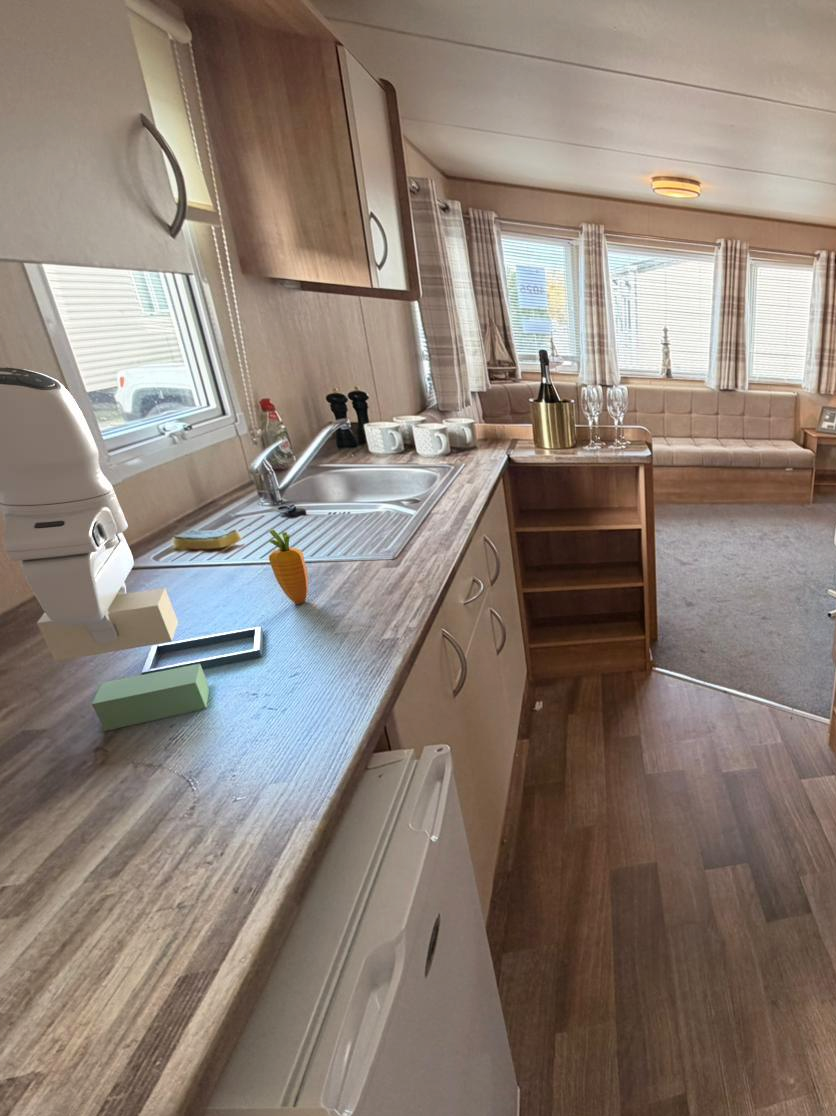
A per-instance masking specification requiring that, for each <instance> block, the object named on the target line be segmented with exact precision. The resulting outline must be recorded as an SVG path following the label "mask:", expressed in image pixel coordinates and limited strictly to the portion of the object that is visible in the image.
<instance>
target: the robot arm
mask: <svg viewBox="0 0 836 1116" xmlns="http://www.w3.org/2000/svg"><path fill="white" fill-rule="evenodd" d="M79 407H80V406H79V405H78V404H77V402H76V400H75V399H74V398H73V395H71V393H70V392H69V391H68V389H66V388H65V386H64V385H63V384H62V383H60V382H59V381H58V380H57V379H55V378H53V377H51V376H49V375H46V374H44V373H40V372H36V371H33V370H28V369H23V368H15V367H8V366H7V367H6V366H5V367H2V366H0V512H1V514H2V515H3V516H2V520H3V522H4V525H5V528H4V529H5V530H4V535H3V539H2V544H1V545H2V548H3V551H4V553H5V555H6V556H7V558H8V559H9V560H10V561H11V562H16V561H18V562H19V561H21V563H20V566H21V567H20V568H21V570H22V573H23V576H24V578H25V580H26V582H27V584H28V586H29V588H30V589H31V591H32V593H33V595H34V597H35V599H36V600H37V601H38V603H39V605H40V606H41V608H42V610H43V612H44V613H46V615H47V616H48V617H49V618H50V619H51V620H52V621H53V622H54V623H55V624H57V625H58V626H72V625H79V624H83V625H84V626H85V627H86V628H87V629H88V630H89V631H91V633H92V635H93V637H94V639H95V642H97V643H99V644H103V643H110V642H114V641H116V640H117V638H118V636H119V632H118V630H117V627H116V625H115V623H114V624H112V622H111V620H110V618H109V616H108V614H109V612H108V608H109V607H110V605H111V603H112V602H113V600H114V598H115V596H116V595H118V594H125V593H127V587H126V583H125V581H126V579H127V577H128V576H129V574H130V572H131V571H132V569H133V567H134V565H135V562H134V557H133V554H132V551H131V549H130V546H129V545H128V542H127V540H126V538H125V536H124V532H125V531H126V530H127V529H128V528H129V525H128V522H127V520H126V518H125V515H124V512H123V509H122V507H121V504H120V503H119V499H118V497H117V494H116V492H115V489H114V487H113V485H112V484H111V482H110V481H109V480H108V478H107V477H106V476H105V475H104V473H103V472H102V469H101V467H100V460H99V459H100V453H99V449H98V446H97V443H96V441H95V439H94V436H93V434H92V431H91V429H90V427H89V425H88V423H87V420H86V418H85V417H84V415H83V412H82V410H81V409H80V408H79Z"/></svg>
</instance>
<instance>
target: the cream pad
mask: <svg viewBox="0 0 836 1116" xmlns="http://www.w3.org/2000/svg"><path fill="white" fill-rule="evenodd" d="M108 612H109V614H108V616H109V618H110V620H111V622H112V624H114V623H115V625H116V627H117V630H118V632H119V636H118V638H117V640H116V641H114V642H110V643H103V644H99V643H97V642H95V639H94V637H93V635H92V633H91V631H89V630H88V629H87V628H86V627H85V626H84V625H83V624H79V625H72V626H58V625H57V624H55V623H54V622H53V621H52V620H51V619H50V618H49V617H48V616H47V615H46V613H45V612H44V613H43V614H42V615H41V617H40V618H39V619H38V620H37V622H36V625H37V627H38V629H39V631H40V633H41V635H42V637H43V640H44V641H45V644H46V645H47V647H48V650H49V652H50V654H51V656H52V657H53V660H54V661H55V662H59V661H66V660H72V659H78V658H83V657H89V656H96V655H102V654H107V653H113V652H120V651H125V650H130V649H136V648H142V647H148V646H154V645H159V644H165V643H170V642H173V639H174V637H175V634H176V631H177V628H178V626H179V620H178V617H177V615H176V613H175V610H174V607H173V605H172V602H171V599H170V596H169V595H168V592H167V589H166V588H165V587H164V588H163V587H162V588H157V589H147V590H141V591H134V592H128V593H127V592H126V593H125V594H118V595H116V596H115V598H114V600H113V602H112V603H111V605H110V607H109V608H108Z"/></svg>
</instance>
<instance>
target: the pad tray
mask: <svg viewBox="0 0 836 1116" xmlns="http://www.w3.org/2000/svg"><path fill="white" fill-rule="evenodd" d="M249 638H253V639H254V640H253V648H251V649H247V650H242V651H237V652H231V653H227V654H221V655H216V656H209V657H206V658H200V659H196V660H190V661H185V662H180V663H179V662H178V663H174V664H169V665H164V666H159V667H157V665H158V661H159V660H160V659H159V658H160V656H161V655H162V654H166V653H172V652H178V651H184V650H188V649H194V648H199V647H205V646H209V645H216V644H221V643H227V642H231V641H238V640H242V639H249ZM263 645H264V632H263V628H262V626H261V625H260V626H256V627H249V628H244V629H237V630H232V631H228V632H222V633H216V634H210V635H205V636H198V637H194V638H187V639H181V640H177V641H176V640H175V641H172V642H167V643H161V644H155V645H150V648H149V650H148V654H147V656H146V658H145V662H144V664H143V667H142V670H141V673H140V675H144V674H150V673H155V672H160V671H165V670H170V669H175V668H180V667H185V666H190V665H196V664H200V665H201V667H202V670H204V669H209V668H215V667H219V666H223V665H224V666H225V665H229V664H234V663H240V662H244V661H250V660H254V659H259V658H262V657H263Z"/></svg>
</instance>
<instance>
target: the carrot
mask: <svg viewBox="0 0 836 1116" xmlns="http://www.w3.org/2000/svg"><path fill="white" fill-rule="evenodd" d="M268 533H270V535H271V536H272V537H273V538H274V539H270V540H268V542H269V543H270V544H272V545H274V546H275V547H276V548H277V549H274V550H272V552H271V553H270V554H269V556H268V560H269V564H270V567H271V569H272V571H273V574H274V576H275V579H276V581H277V583H278V585H279V586H280V588H281V591H283V593H284V594H285V596H286V597H287V598H288V599H289V600H290V601H291V602H292V603H294V605H302V604H305V603H306V600H307V597H308V591H309V575H308V570H307V569H308V568H307V565H306V561H305V557H304V554H303V551H302V550H301V549H299V548H295V547H291V546H290V539H291V535H290V534H288V532H286V531H282V532H281V536H280V534H279V533H278V532H277V531H276V530H275V529H270V530H269V532H268Z"/></svg>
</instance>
